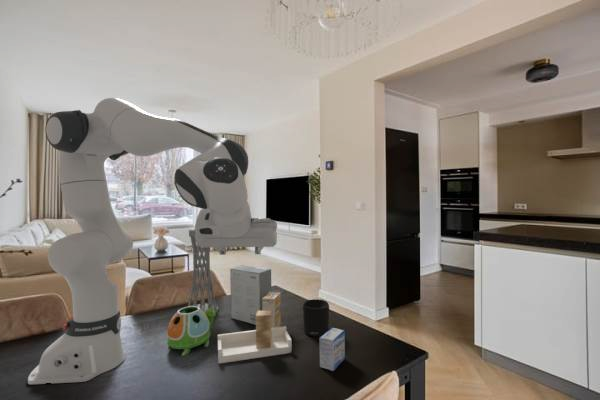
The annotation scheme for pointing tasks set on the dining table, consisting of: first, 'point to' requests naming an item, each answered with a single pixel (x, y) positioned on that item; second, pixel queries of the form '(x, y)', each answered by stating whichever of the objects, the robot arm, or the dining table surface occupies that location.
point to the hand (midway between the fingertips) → (240, 252)
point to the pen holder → (316, 317)
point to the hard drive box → (248, 291)
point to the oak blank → (263, 329)
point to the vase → (196, 273)
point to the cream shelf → (251, 345)
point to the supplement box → (273, 307)
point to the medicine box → (332, 349)
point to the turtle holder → (190, 328)
